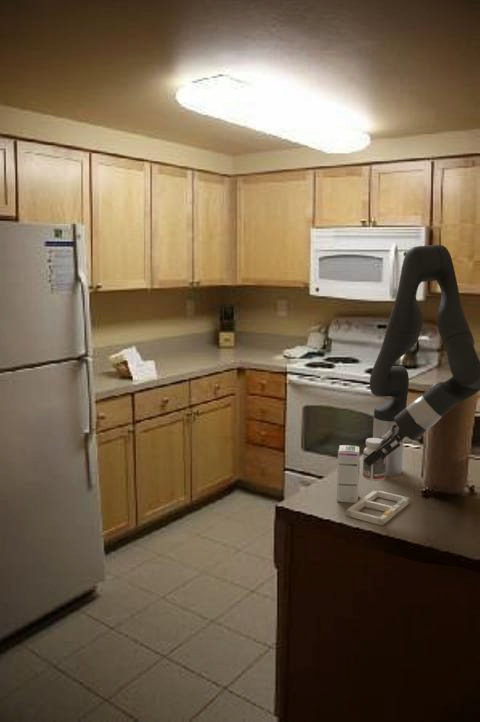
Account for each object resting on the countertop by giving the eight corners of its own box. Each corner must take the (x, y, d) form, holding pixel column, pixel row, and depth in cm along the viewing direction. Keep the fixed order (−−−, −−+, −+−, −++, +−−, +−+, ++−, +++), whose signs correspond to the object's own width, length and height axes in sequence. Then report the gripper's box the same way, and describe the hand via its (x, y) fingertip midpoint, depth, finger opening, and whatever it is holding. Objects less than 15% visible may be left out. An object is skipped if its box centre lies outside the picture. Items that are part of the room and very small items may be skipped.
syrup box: (358, 503, 170) (360, 451, 168) (336, 501, 171) (338, 450, 169) (358, 495, 176) (360, 445, 173) (337, 494, 177) (339, 444, 174)
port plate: (374, 494, 177) (375, 488, 176) (409, 503, 171) (409, 496, 171) (345, 515, 162) (346, 508, 162) (382, 525, 156) (382, 518, 156)
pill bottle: (386, 475, 163) (388, 438, 162) (384, 482, 158) (385, 444, 156) (364, 473, 165) (365, 436, 163) (361, 480, 160) (362, 442, 158)
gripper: (408, 400, 163) (359, 440, 168) (406, 413, 149) (354, 456, 155) (428, 421, 162) (379, 461, 168) (429, 436, 149) (375, 479, 154)
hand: (367, 459), depth 161 cm, fingers closed on pill bottle, 5 cm apart
